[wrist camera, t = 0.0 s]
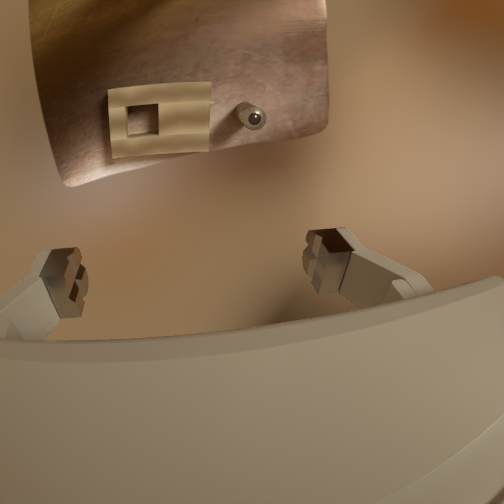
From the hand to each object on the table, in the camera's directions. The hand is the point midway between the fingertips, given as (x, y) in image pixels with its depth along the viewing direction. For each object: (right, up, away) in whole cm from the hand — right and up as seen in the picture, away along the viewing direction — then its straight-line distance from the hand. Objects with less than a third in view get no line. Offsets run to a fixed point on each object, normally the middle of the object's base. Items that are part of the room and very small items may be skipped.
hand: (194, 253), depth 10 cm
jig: (-15, +25, +38) cm, 48 cm away
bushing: (+1, +27, +42) cm, 50 cm away
